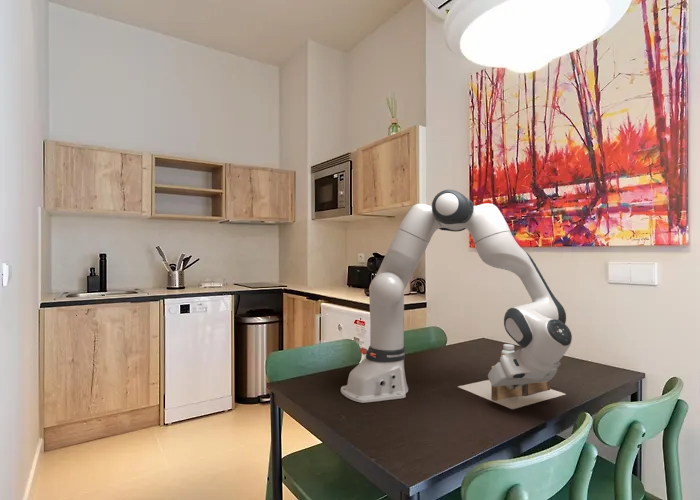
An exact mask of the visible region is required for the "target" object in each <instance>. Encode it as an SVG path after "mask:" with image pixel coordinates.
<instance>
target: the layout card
mask: <svg viewBox="0 0 700 500" xmlns="http://www.w3.org/2000/svg"><path fill="white" fill-rule="evenodd" d="M457 388H460V389H462V390H465V391H467V392H470V394H471V393H472V394H473V395H477V396H479V397H480V398H484V399H486V400H488V401H491V402H493V403H496V404H498V405H501V406H503V407H506V408H508V409H510V410H515V409H519V408H522V407H526V406H529V405H532V404H537V403H539V402H543V401H546V400H547V401H548V400H552V399H554V398H559V397H563V396H566V395H567V393H564V392H561V391H558V390H555V389H552V388H550V390H545V391H541V392H537V393H533V394H530V395H527V396H522V395H521V396H515V397H509V398H503V399H498V400H492V399H491V383H490V381H489V379H486V380H482V381H477V382H472V383H468V384H464V385H459V386H457Z"/></svg>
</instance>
